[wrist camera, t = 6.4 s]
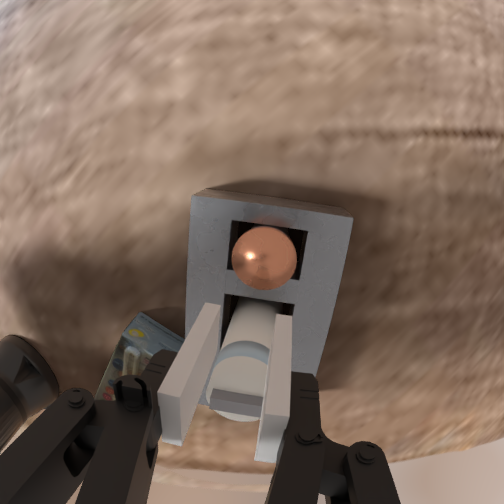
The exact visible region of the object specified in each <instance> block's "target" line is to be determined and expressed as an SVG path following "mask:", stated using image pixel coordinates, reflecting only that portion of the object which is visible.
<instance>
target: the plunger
mask: <svg viewBox="0 0 504 504" xmlns="http://www.w3.org/2000/svg"><path fill="white" fill-rule="evenodd" d="M296 263H297V257H296V249H295V246H294V244H293V242H292V241H291V239H290V236H289V232H288V229H287V228H286V227H279V226H272V225H265V224H258V223H255V224H254V226H253V227H252V229H250V230H248V231H246V232H245V233H244V234H242V235H241V237H240V238H239V239H238V241H237V242H236V244H235V246H234V248H233V251H232V265H233V269H234V271H235V273H236V275H237V276H238V278H239V279H240V280H241V281H242V282H243V283H245V284H246V285H248V286H250V287H252V288H255V289H259V290H271V289H275V288H278V287H280V286H282V285H284V284H285V283H286V282H287V281H288V280H289V279H290V278H291V277H292V275H293V273H294V271H295V268H296Z"/></svg>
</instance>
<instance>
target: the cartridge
mask: <svg viewBox="0 0 504 504" xmlns="http://www.w3.org/2000/svg"><path fill="white" fill-rule="evenodd" d="M282 312H283V302H277V301H270V300H263V299H257V298H250V297H244V296H239V299H238V302H237V305H236V307H235V310H234V313H233V316H232V319H231V322H230V324H229V327H228V330H227V333H226V336H225V339H224V341H223V344H222V347H221V350H220V352H219V354H218V356H217V359H216V362H215V365H214V368H213V370H212V374H211V378H210V381H209V384H208V386H207V389H206V398H207V401H208V403H209V405H210V408H209V409H213V410H215V411H216V412H217V413H219V414H220V415H222V416H224V417H226V418H228V419H231V420H235V421H242V422H249V421H255V420H259V419H260V418H261V411H262V404H263V396H264V389H265V381H266V374H267V366H268V358H269V353H270V347H271V342H272V336H273V331H274V325H275V319H276V314H281V315H282Z"/></svg>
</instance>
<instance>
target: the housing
mask: <svg viewBox="0 0 504 504" xmlns="http://www.w3.org/2000/svg"><path fill="white" fill-rule="evenodd" d="M353 219H354V218H353V217H352V216H351V215H350V214H349V212H348V211H347V210H346V209H345V208H342V207H336V206H330V205H324V204H318V203H311V202H305V201H298V200H291V199H284V198H277V197H270V196H263V195H255V194H248V193H240V192H232V191H223V190H215V189H204V190H202V191H200V192H198V193H196V194H194V195H192V198H191V212H190V227H189V243H188V262H187V285H186V317H185V339H186V337H187V336H188V334H189V332H190V330H191V328H192V326H193V324H194V323H195V321H196V319H197V317H198V315H199V313H200V312H201V310H202V308H203V306H204V304H205V302H206V303H212V304H217V305H221V309H220V321H219V334H218V347H217V352H216V355H215V358H214V361H213V363H212V366H211V369H210V372H209V374H208V377H207V380H206V382H205V385H204V388H203V391H202V393H201V396H200V399H199V401H198V404H202V405H207V406H210V405H209V403H208V401H207V398H206V389H207V386H208V384H209V381H210V378H211V374H212V370H213V368H214V365H215V362H216V359H217V356H218V354H219V352H220V350H221V347H222V344H223V341H224V339H225V336H226V333H227V330H228V327H229V326H228V324H229V314H230V303H231V295H238V296H244V297H250V298H257V299H263V300H270V301H277V302H284V303H291V306H290V312H289V316H292V355H291V371H294V372H302V373H311V374H313V375H314V377H316V373H317V370H318V366H319V363H320V359H321V356H322V352H323V349H324V345H325V341H326V338H327V334H328V330H329V326H330V323H331V319H332V315H333V311H334V307H335V303H336V299H337V294H338V290H339V286H340V282H341V277H342V273H343V268H344V264H345V259H346V254H347V249H348V245H349V240H350V235H351V230H352V224H353ZM239 221H244V222H251V223H258V224H265V225H272V226H279V227H286V228H293V229H300V230H304V232H303V238H302V244H301V250H300V256H299V262H297V263H296V268H295V271H294V273H293V275H292V277H291V278H290V279H289V280H288V281H287V282H286V283H285V284H284V285H282V286H280V287H278V288H275V289H271V290H259V289H255V288H252V287H250V286H248V285H246V284H245V283H243V282H242V281H241V280H240V279H239V278H238V276H237V275H236V273H235V271H234V269H233V265H232V251H233V248H234V246H235V244H236V242H237V235H238V226H239Z"/></svg>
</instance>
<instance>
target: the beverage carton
mask: <svg viewBox="0 0 504 504" xmlns="http://www.w3.org/2000/svg"><path fill="white" fill-rule="evenodd" d="M184 341H185V339H184V338H182V337H180V336H179V335H177V334H175V333H173V332H172V331H170V330H169V329H167V328H165V327H164V326H162V325H161V324H159V323H158V322H156V321H154V320H153V319H151V318H150V317H148V316H147V315H145V314H144V313H142V312H139V313H138V315H137V316H136V317H135V318H134V319H133V320H132V321H131V323H130V324H129V325H128V326H127V327H126V329H125V330H124V332H123V333H122V336H121V338H120V340H119V342H118V344H117V345H116V348H115V351H114V353H113V355H112V357H111V359H110V362H109V364H108V366H107V369H106V371H105V373H104V376H103V378H102V380H101V383H100V385H99V388H98V390H97V393H96V395H95V398H94V400H106V401H114V400H116V399H115V395H114V390H113V384H112V383H113V382H114V381H115V380H116V379H117V378H119V377H121V376H124V375H138V376H140V375H141V374H142V372H143V370H145V367H146V366H147V364H149V361H150V359H151V358H152V356H153V355H154V354H155V353H157V352H158V351H160V350H161V349H165V350H170V351H174V352H179V350H180V348H181V347H182V345H183V343H184Z"/></svg>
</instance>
